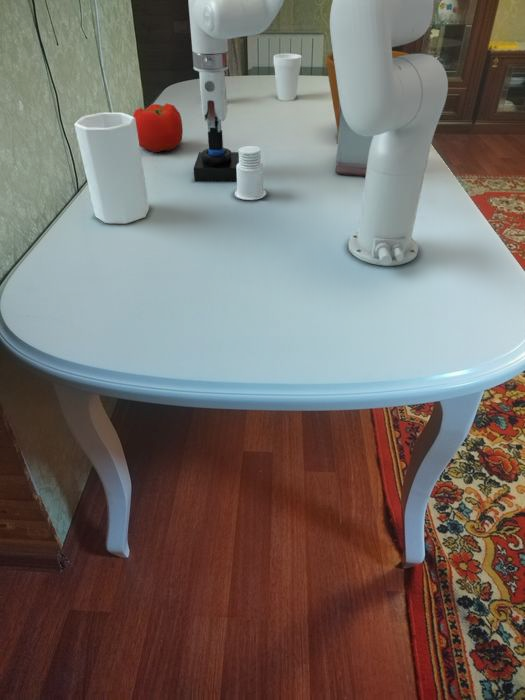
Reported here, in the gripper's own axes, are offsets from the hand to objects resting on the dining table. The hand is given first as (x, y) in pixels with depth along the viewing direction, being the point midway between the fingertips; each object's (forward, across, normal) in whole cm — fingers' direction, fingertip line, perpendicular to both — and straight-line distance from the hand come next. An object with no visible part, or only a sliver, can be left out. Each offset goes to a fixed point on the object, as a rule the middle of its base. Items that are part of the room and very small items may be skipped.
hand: (216, 148), depth 120 cm
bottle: (+6, +5, -34) cm, 35 cm away
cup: (+6, -23, +18) cm, 30 cm away
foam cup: (+6, +71, -18) cm, 73 cm away
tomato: (+6, +18, +17) cm, 25 cm away
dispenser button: (+2, 0, 0) cm, 2 cm away
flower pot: (+6, +28, -39) cm, 48 cm away
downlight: (+6, -13, -9) cm, 17 cm away
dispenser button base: (+6, 0, 0) cm, 6 cm away
